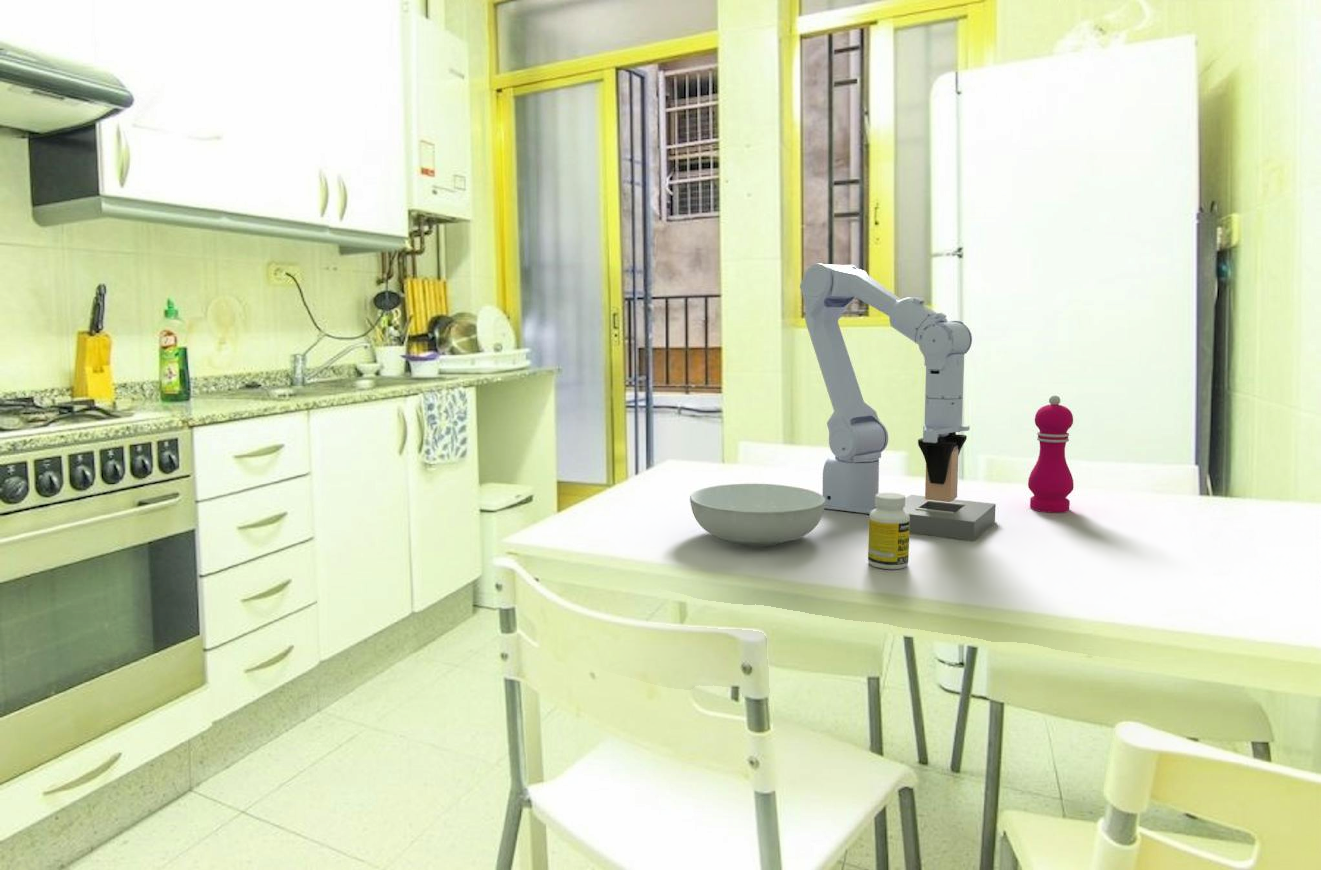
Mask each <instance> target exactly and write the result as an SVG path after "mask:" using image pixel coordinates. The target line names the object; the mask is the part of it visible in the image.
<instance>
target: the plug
mask: <svg viewBox="0 0 1321 870" xmlns="http://www.w3.org/2000/svg"><path fill="white" fill-rule="evenodd" d="M958 452H959V449H958V446H956V445H955V447H954V449H953V451H952V454H951V456H950V460H949V464H948V470H947V476H946V480H945V483H944V484H934V483H930V480H929V475H928V470H927V465H926V464H925V484H924V485H925V489H924V490H925V491H924V493H925V494H924V496H925V500H934V501H943V502H951V501H953V500H954V499H955V500H957V498H958V484H959V483H958V481H959V476H958V475H959V456H958Z"/></svg>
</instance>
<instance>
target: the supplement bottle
mask: <svg viewBox="0 0 1321 870" xmlns="http://www.w3.org/2000/svg"><path fill="white" fill-rule="evenodd" d="M905 498H906V495H905V494H901V493H896V492H880V493H879V492H878V494H876V495H875V505H876V506H877V508H876V509H874V510H872V511H871V512H870V514H869V515H868V516H869V517H868V518H869V519H868V545H867V546H868V547H867V548H868V549H867V550H868V551H867V562H868V564H869V565H871V567H875V568H876V569H883V570H901V569H904V568H906V567H907V566H908V565H909V553H910V552H909V550H910V533H909V530H910V516H909V514H908V513H907V512H906V511H904V510H903V507H905Z"/></svg>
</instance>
